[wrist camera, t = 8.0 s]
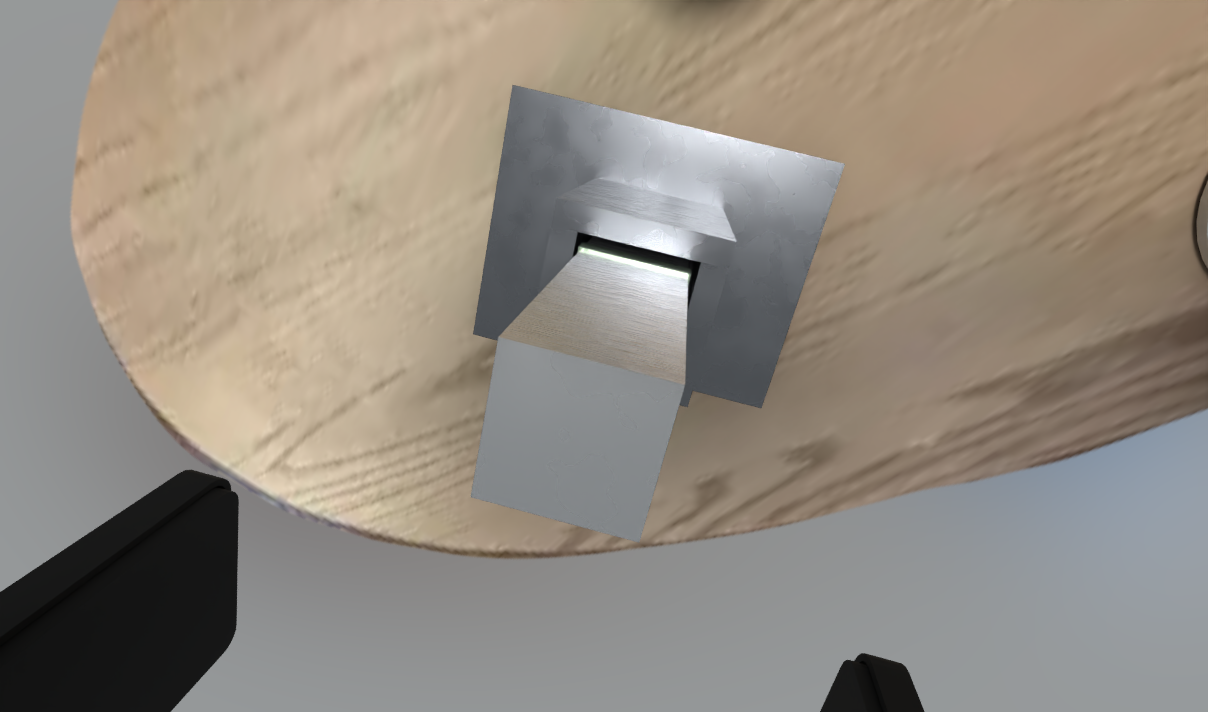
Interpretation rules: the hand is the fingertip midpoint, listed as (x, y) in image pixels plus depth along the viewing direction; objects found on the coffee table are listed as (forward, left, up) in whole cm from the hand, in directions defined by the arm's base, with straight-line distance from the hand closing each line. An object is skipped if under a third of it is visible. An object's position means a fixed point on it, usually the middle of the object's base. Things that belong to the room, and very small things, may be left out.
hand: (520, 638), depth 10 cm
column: (0, 0, -26) cm, 26 cm away
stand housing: (0, 0, -34) cm, 34 cm away
